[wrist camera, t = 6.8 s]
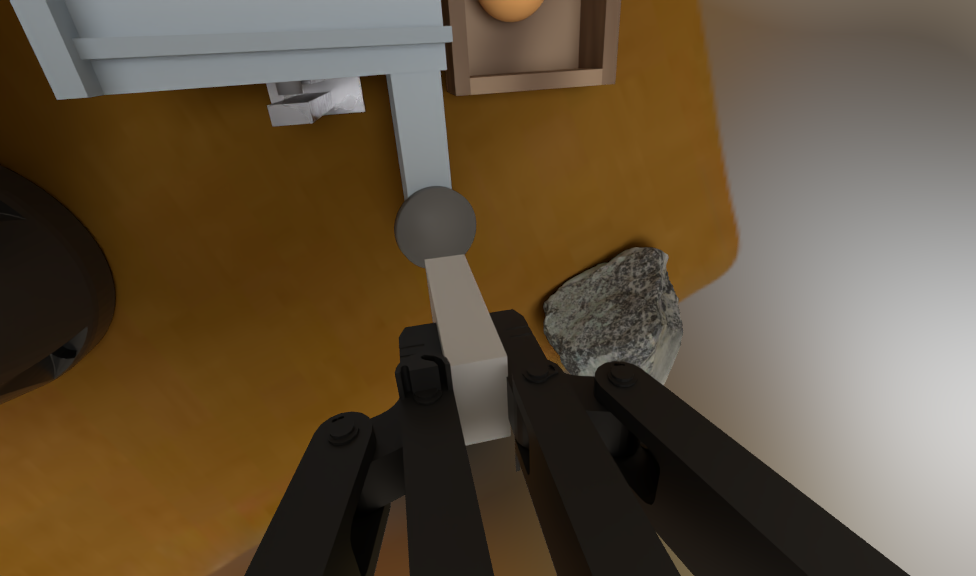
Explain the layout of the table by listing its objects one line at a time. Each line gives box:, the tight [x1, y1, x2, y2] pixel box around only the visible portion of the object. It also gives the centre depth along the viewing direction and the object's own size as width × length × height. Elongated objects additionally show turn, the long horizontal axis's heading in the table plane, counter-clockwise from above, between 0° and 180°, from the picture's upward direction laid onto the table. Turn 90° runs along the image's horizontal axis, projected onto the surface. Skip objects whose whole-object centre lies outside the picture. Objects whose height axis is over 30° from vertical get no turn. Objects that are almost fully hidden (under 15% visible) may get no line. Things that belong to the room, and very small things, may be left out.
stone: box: [543, 247, 683, 386], centre depth 33 cm, size 10×10×10 cm
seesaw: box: [10, 0, 476, 268], centre depth 18 cm, size 15×18×3 cm
